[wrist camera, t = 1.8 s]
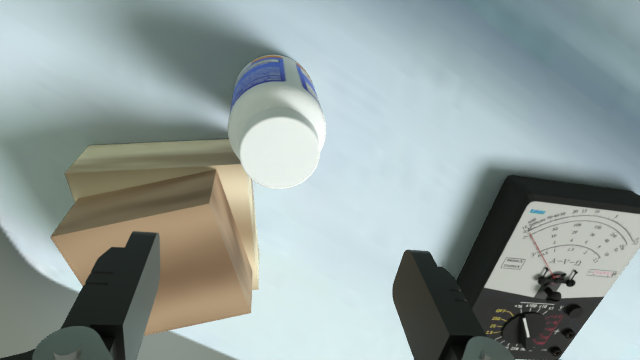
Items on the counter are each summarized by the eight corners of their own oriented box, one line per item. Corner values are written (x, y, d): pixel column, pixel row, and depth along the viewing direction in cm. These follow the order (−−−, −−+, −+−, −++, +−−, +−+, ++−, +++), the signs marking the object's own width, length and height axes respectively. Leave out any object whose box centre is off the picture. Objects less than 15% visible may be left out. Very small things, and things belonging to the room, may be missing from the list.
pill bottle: (225, 114, 29) (208, 186, 21) (248, 40, 27) (239, 86, 18) (298, 138, 30) (310, 213, 22) (325, 69, 28) (351, 124, 20)
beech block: (88, 145, 29) (64, 173, 25) (247, 138, 30) (245, 163, 27) (125, 265, 34) (110, 301, 31) (259, 255, 35) (258, 289, 32)
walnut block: (78, 198, 26) (50, 237, 23) (216, 169, 26) (209, 203, 23) (135, 296, 31) (118, 340, 28) (252, 271, 31) (250, 312, 28)
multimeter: (429, 329, 44) (447, 371, 39) (504, 170, 34) (538, 203, 30) (538, 334, 46) (566, 375, 42) (634, 188, 37) (682, 221, 33)
